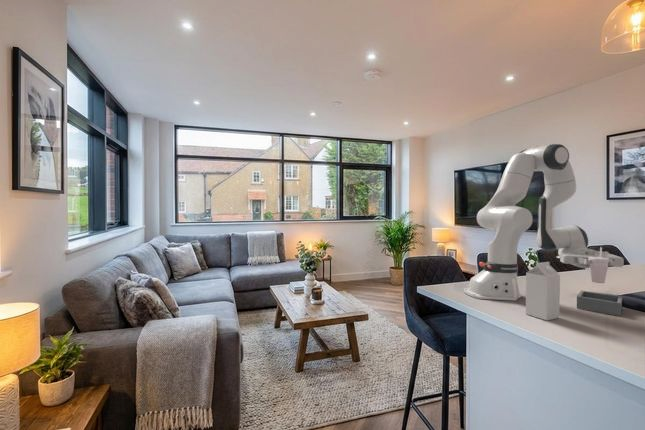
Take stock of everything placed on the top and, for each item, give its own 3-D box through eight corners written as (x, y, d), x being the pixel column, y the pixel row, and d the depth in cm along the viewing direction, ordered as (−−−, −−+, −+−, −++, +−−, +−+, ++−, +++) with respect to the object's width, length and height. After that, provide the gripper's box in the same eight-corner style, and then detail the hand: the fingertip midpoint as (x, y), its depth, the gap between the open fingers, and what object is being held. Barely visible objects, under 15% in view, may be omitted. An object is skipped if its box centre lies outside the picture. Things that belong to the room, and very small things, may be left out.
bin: (620, 316, 108) (620, 303, 108) (576, 308, 116) (576, 296, 116) (621, 308, 116) (622, 296, 116) (580, 301, 125) (580, 290, 124)
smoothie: (613, 284, 118) (614, 248, 117) (594, 283, 119) (595, 247, 118) (601, 280, 124) (602, 246, 123) (583, 279, 125) (584, 245, 125)
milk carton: (525, 314, 109) (526, 261, 109) (538, 311, 112) (538, 260, 112) (546, 321, 103) (547, 265, 102) (559, 318, 106) (560, 263, 105)
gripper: (554, 249, 137) (568, 253, 123) (611, 251, 130) (632, 256, 117) (554, 263, 137) (568, 268, 124) (611, 266, 130) (632, 273, 117)
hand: (600, 263), depth 120 cm, fingers closed on smoothie, 6 cm apart
